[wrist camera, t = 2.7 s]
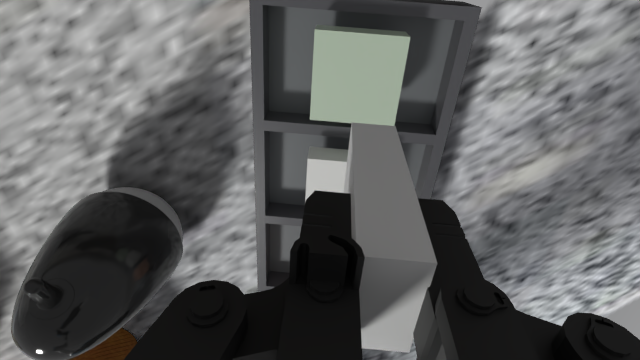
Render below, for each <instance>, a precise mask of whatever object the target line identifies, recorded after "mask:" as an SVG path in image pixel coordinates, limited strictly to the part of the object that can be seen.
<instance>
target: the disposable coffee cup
mask: <svg viewBox="0 0 640 360" xmlns="http://www.w3.org/2000/svg"><path fill="white" fill-rule="evenodd" d="M136 344H137V341H136V339H135V338H134V336H133V335H132V334H130V333H129V332H128V331H126V330H124V329H122V328H121V329H119V330H118V331H117V332H116V333H114V334H113V335H112V336H111V337H109V338H108V339H107V340H105V341H104V342H102V343H101V344H99V345H98V346H96V347H95V348H93V349H91V350H89V351H88V352H86V353H84V354H82V355H80V356H78V357H75V358H73V359H70V360H124V358H125V357H126V356H127V355H128V354H129V352H130V351H131V350H132V349H133V348H134V346H135V345H136Z"/></svg>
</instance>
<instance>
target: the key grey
mask: <svg viewBox="0 0 640 360" xmlns="http://www.w3.org/2000/svg"><path fill="white" fill-rule="evenodd" d="M347 157H348V150H345V149H334V148H322V147H310V148H309V154H308V159H307V177H306V196H305V202H306V200H307V198H308V197H309V196H310V195H311V194H312V193H313V192H314V191H315V190H316V191H327V192H338V193H344V182H345V174H346V165H347Z"/></svg>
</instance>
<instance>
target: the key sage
mask: <svg viewBox="0 0 640 360" xmlns="http://www.w3.org/2000/svg"><path fill="white" fill-rule="evenodd" d="M410 38H411V37H410V36H409V35H408V34H407V33H406V32H403V31H391V30H378V29H366V28H353V27H341V26H328V25H316V27H315V32H314V50H313V68H312V86H311V105H310V120H319V121H331V122H342V123H364V124H376V125H388V126H394V125H395V120H396V114H397V109H398V103H399V98H400V92H401V87H402V81H403V76H404V70H405V65H406V59H407V54H408V49H409V43H410Z"/></svg>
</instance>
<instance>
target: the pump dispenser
mask: <svg viewBox="0 0 640 360" xmlns="http://www.w3.org/2000/svg"><path fill="white" fill-rule="evenodd" d="M182 241H183V232H182V226H181V223H180V220H179V218H178V216H177V214H176V212H175V211H174V209H173V208H172V207H171V206H170V205H169V204H168V203H167V202H166V201H165V200H163V199H162V198H161V197H159V196H157V195H156V194H154V193H152V192H149V191H146V190H143V189H139V188H132V187H120V188H113V189H109V190H106V191H103V192H98V193H94V194H91V195H88V196H86V197H85V198H83V199H81V200H80V201H79V202H78V203H76V204H75V205H74V206H73V207H72V208H71V209H70V210H69V211H68V212H67V213H66V215H65V216H64V217H63V218H62V220H61V221H60V222H59V223H58V225H57V226H56V227H55V229H54V230H53V231H52V233H51V234H50V235H49V237H48V238H47V240H46V241H45V243H44V244H43V246H42V248H41V249H40V251H39V253H38V254H37V256H36V258H35V260H34V262H33V263H32V265H31V267H30V269H29V271H28V273H27V275H26V277H25V279H24V281H23V283H22V286H21V288H20V291H19V293H18V296H17V299H16V302H15V306H14V310H13V315H12V323H11V332H12V337H13V340H14V342H15V344H16V346H17V347H18V348H19V350H20V351H21V352H22V353H24V354H25V355H26V356H28V357H30V358H32V359H34V360H70V359H73V358H75V357H78V356H80V355H82V354H84V353H86V352H88V351H89V350H91V349H93V348H95V347H96V346H98V345H99V344H101V343H102V342H104V341H105V340H107V339H108V338H109V337H111V336H112V335H113V334H114V333H116V332H117V331H118V330H119V329H121V328H122V327H123V326H124V325H125V324H126V323H127V322H129V321H130V320H131V319H132V318H133V317H134V316H135V315H136V314H137V313H138V312H139V311H140V310H141V309H142V308H143V307H145V306H146V304H147V303H148V302H149V301H150V300H151V299H152V298H153V297H154V296H155V295H156V294H157V292H158V291H159V290H160V289H161V288H162V287H163V285H164V284H165V283H166V282H167V280H168V279H169V278H170V276H171V275H172V274H173V272H174V271H175V269H176V268H177V266H178V264H179V262H180V260H181V257H182V253H183V244H182Z"/></svg>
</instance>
